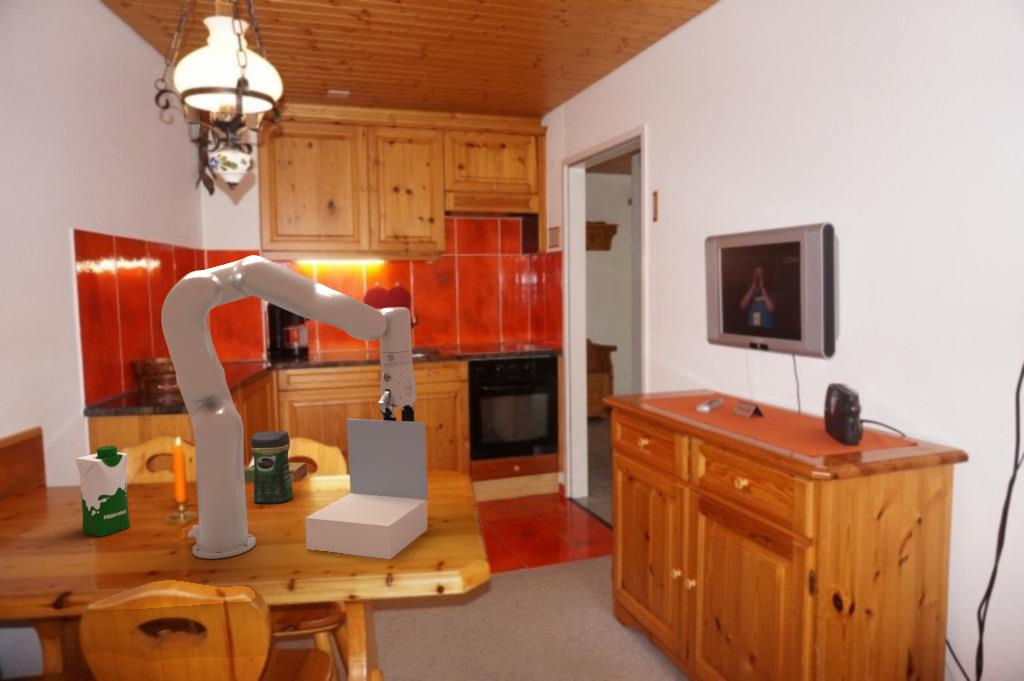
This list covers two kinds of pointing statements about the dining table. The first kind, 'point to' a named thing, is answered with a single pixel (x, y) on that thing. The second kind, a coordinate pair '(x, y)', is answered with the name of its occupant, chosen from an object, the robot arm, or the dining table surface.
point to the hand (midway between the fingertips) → (399, 429)
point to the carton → (295, 469)
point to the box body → (367, 525)
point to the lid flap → (387, 458)
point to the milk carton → (104, 491)
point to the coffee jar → (271, 467)
